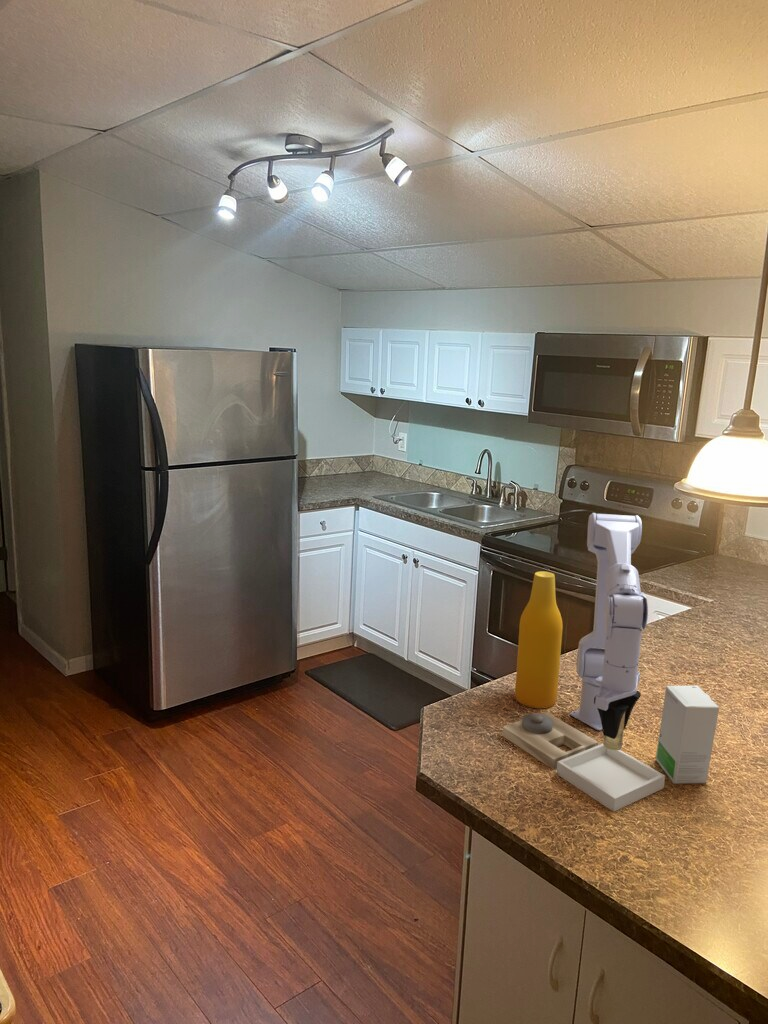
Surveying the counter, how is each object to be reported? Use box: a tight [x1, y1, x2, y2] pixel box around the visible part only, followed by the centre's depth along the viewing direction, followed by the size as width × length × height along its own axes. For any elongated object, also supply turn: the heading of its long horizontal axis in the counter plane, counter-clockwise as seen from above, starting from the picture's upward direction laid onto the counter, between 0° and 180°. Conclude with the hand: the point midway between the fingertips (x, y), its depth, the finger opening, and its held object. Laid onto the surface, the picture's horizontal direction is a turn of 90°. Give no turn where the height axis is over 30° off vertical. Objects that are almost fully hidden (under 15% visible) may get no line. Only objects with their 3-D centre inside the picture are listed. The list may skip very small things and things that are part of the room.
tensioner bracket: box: [501, 711, 599, 770], centre depth 146 cm, size 12×14×4 cm
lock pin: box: [602, 713, 625, 750], centre depth 132 cm, size 3×3×7 cm
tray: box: [556, 743, 666, 813], centre depth 134 cm, size 13×13×2 cm
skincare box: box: [655, 685, 720, 785], centre depth 136 cm, size 8×7×16 cm
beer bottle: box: [514, 570, 563, 709], centre depth 161 cm, size 9×9×29 cm
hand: (614, 732), depth 132 cm, fingers closed on lock pin, 3 cm apart
